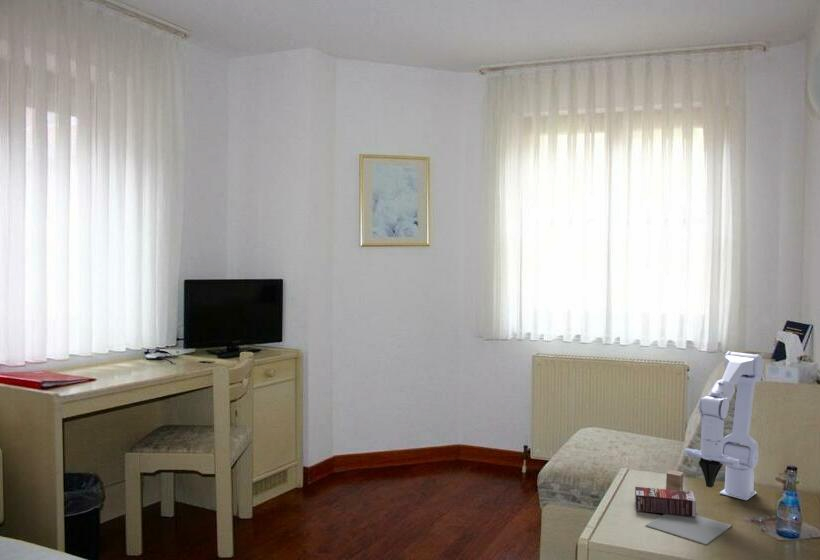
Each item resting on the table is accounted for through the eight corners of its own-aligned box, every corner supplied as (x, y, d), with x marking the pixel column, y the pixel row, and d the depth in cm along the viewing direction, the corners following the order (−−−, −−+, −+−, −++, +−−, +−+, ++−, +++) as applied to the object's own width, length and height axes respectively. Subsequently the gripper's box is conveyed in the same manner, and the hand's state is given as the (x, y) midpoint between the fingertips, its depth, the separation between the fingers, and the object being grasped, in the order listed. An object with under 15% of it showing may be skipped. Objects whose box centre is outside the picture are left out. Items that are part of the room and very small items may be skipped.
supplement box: (696, 500, 189) (635, 495, 193) (696, 517, 189) (635, 512, 193) (692, 490, 197) (634, 485, 202) (692, 507, 197) (634, 502, 202)
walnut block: (668, 492, 211) (669, 469, 211) (682, 495, 209) (683, 472, 208) (665, 495, 207) (666, 473, 207) (679, 498, 205) (680, 475, 205)
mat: (673, 509, 196) (673, 508, 196) (731, 526, 185) (731, 525, 185) (645, 526, 183) (645, 525, 183) (706, 545, 172) (706, 543, 172)
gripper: (680, 436, 195) (678, 482, 196) (733, 447, 185) (731, 496, 186) (690, 432, 200) (688, 477, 201) (742, 442, 190) (740, 490, 191)
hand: (709, 486), depth 194 cm, fingers closed
